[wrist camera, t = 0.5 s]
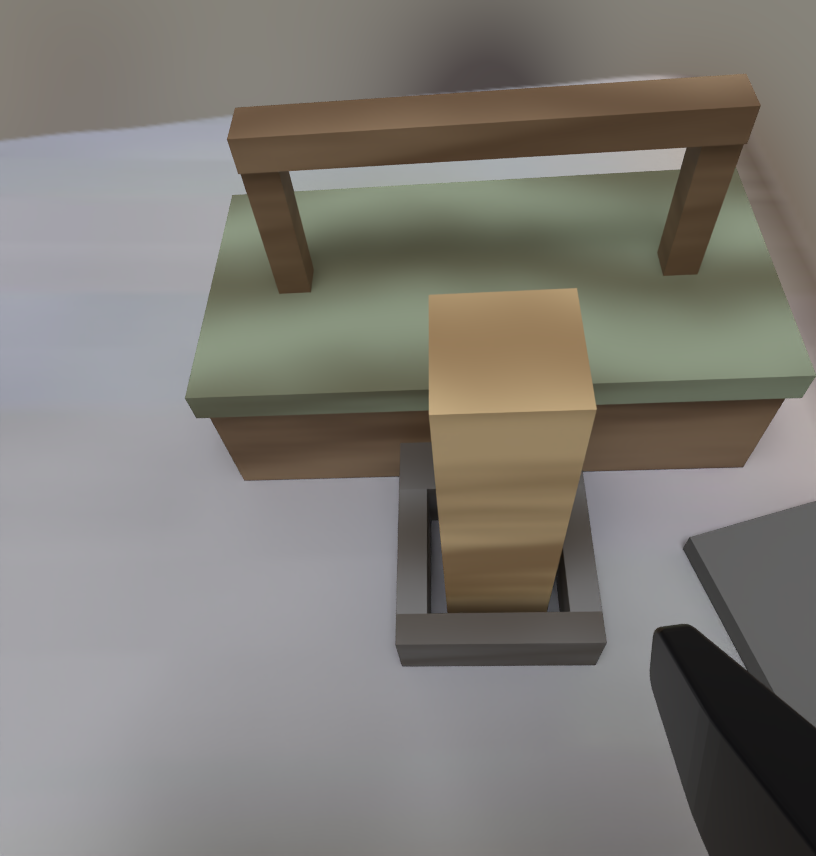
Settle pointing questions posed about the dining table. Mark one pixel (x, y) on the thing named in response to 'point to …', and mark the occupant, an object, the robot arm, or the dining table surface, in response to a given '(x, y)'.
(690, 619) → the dining table surface
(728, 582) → the rubber mat
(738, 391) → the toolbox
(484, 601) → the tan tall rectangular block
